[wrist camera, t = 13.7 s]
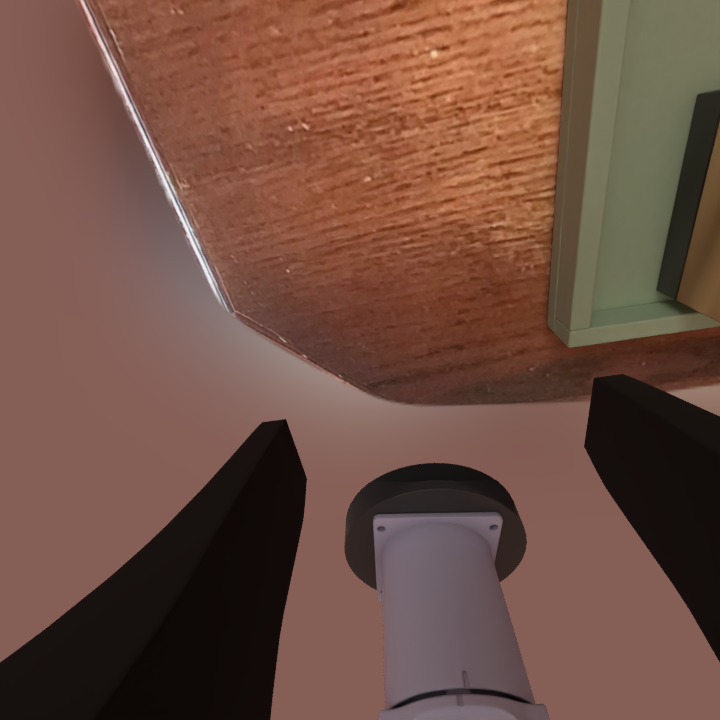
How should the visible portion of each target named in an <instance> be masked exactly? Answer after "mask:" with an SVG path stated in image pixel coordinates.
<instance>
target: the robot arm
mask: <svg viewBox="0 0 720 720" xmlns="http://www.w3.org/2000/svg"><path fill="white" fill-rule="evenodd" d="M584 447H585V449H586V450H587V453H588V455H589V457H590V459H591V461H592V463H593V465H594V467H595V468H596V471H597V473H598V474H599V476H600V478H601V480H602V482H603V483H604V486H605V487H606V489H607V490H608V492H609V493H610V495H611V496H612V498H613V499H614V500H615V502H616V503H617V505H618V506H619V508H620V509H621V511H622V512H623V514H624V515H625V516H626V518H627V519H628V521H629V522H630V524H631V525H632V526H633V528H634V529H635V531H636V532H637V534H638V535H639V536H640V538H641V539H642V541H643V542H644V543H645V545H646V547H647V548H648V549H649V550H650V552H651V554H652V555H653V557H654V558H655V559H656V561H657V562H658V564H659V565H660V567H661V568H662V569H663V571H664V572H665V574H666V575H667V576H668V578H669V579H670V581H671V582H672V583H673V585H674V586H675V588H676V590H677V591H678V593H679V594H680V596H681V597H682V599H683V600H684V602H685V603H686V605H687V607H688V608H689V609H690V611H691V613H692V615H693V616H694V618H695V620H696V622H697V624H698V625H699V627H700V629H701V630H702V632H703V634H704V636H705V637H706V639H707V641H708V643H709V644H710V646H711V648H712V650H713V651H714V653H715V655H716V656H717V658H718V660H719V662H720V416H717V415H715V414H713V413H711V412H708V411H706V410H704V409H701V408H699V407H697V406H695V405H693V404H691V403H689V402H686V401H684V400H682V399H679V398H677V397H675V396H673V395H671V394H669V393H666V392H664V391H662V390H660V389H657V388H655V387H653V386H651V385H648V384H646V383H644V382H641V381H639V380H637V379H634V378H632V377H629V376H626V375H624V374H621V375H613V376H606V377H598V378H594V382H593V389H592V396H591V403H590V410H589V417H588V424H587V431H586V438H585V445H584ZM306 481H307V478H306V475H305V472H304V469H303V466H302V464H301V461H300V458H299V455H298V452H297V449H296V447H295V444H294V441H293V438H292V435H291V432H290V430H289V427H288V424H287V421H286V419H284V420H277V421H269V422H262V423H261V424H260V425H259V426H258V427H257V428H256V429H255V431H254V432H253V433H252V434H251V435H250V436H249V437H248V438H247V439H246V441H245V442H244V443H243V444H242V445H241V446H240V447H239V449H238V450H237V451H236V452H235V453H234V454H233V455H232V457H231V458H230V459H229V460H228V461H227V462H226V463H225V464H224V465H223V467H222V468H221V469H220V470H219V471H218V472H217V473H216V474H215V475H214V477H213V478H212V479H211V480H210V481H209V482H208V483H207V484H206V486H205V487H204V488H203V489H202V490H201V491H200V492H199V493H198V494H197V495H196V496H195V497H194V498H193V499H192V500H191V501H190V502H189V503H188V504H187V505H186V506H185V507H184V508H183V509H182V510H181V511H180V512H179V513H178V514H177V516H175V517H174V518H173V519H172V520H171V522H170V523H169V524H168V525H167V526H166V527H165V528H163V530H162V531H160V532H159V533H158V534H157V535H156V536H155V537H154V538H153V539H152V540H151V541H150V542H149V543H148V544H147V545H145V546H144V547H143V548H142V549H141V550H140V551H139V552H138V553H137V554H136V555H134V556H133V557H132V558H131V559H130V560H129V561H128V562H126V563H125V564H124V565H123V566H122V567H121V568H120V569H119V570H117V571H116V572H115V573H114V574H113V575H112V576H110V577H109V578H108V579H107V580H106V581H105V582H103V583H102V584H101V585H100V586H98V587H97V588H96V589H95V590H93V591H92V592H91V593H90V594H88V595H87V596H86V597H85V598H83V599H82V600H81V601H80V602H79V603H77V604H76V605H75V606H74V607H72V608H71V609H70V610H69V611H67V612H66V613H65V614H64V615H62V616H61V617H60V618H59V619H57V620H56V621H55V622H54V623H52V624H51V625H50V626H49V627H47V628H46V629H45V630H43V631H42V632H41V633H40V634H38V635H37V636H35V637H34V638H33V639H32V640H30V641H29V642H27V643H26V644H25V645H23V646H22V647H21V648H20V649H18V650H17V651H16V652H14V653H13V654H11V655H10V656H9V657H7V658H6V659H5V660H3V661H2V662H0V720H270V716H271V706H272V697H273V687H274V679H275V670H276V662H277V654H278V646H279V638H280V631H281V626H282V619H283V614H284V609H285V605H286V600H287V595H288V590H289V585H290V581H291V576H292V571H293V566H294V562H295V557H296V552H297V548H298V543H299V538H300V533H301V528H302V523H303V517H304V507H305V495H306ZM502 523H503V519H502V516H501V515H500V513H497V512H460V513H400V514H377V515H375V516H374V518H373V530H374V548H375V566H376V583H377V599H378V601H380V602H382V611H383V651H384V686H385V687H384V688H385V710H380V711H379V720H550V718H549V715H548V712H547V709H546V706H545V705H544V704H535V701H534V697H533V694H532V690H531V687H530V683H529V680H528V677H527V673H526V670H525V667H524V663H523V660H522V657H521V653H520V650H519V646H518V643H517V639H516V636H515V633H514V629H513V626H512V623H511V619H510V616H509V612H508V609H507V606H506V602H505V599H504V596H503V592H502V589H501V586H500V582H499V579H498V575H497V572H496V568H495V565H494V563H495V558H496V553H497V548H498V543H499V538H500V533H501V528H502Z"/></svg>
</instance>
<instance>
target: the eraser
mask: <svg viewBox="0 0 720 720" xmlns="http://www.w3.org/2000/svg"><path fill="white" fill-rule="evenodd" d="M656 290H657V291H658V292H660V293H662V294H664V295H666V296H668V297H670V298H672V299H674V300H677V301H678V302H680V303H682V304H684V305H686V306H688V307H690V308H692V309H694V310H696V311H698V312H700V313H702V314H704V315H706V316H708V317H710V318H712V319H714V320H716V321H718V322H720V89H718V90H713V91H708V92H703V93H699V94H698V95H697V98H696V103H695V108H694V112H693V117H692V122H691V127H690V131H689V136H688V141H687V146H686V150H685V155H684V160H683V165H682V169H681V174H680V179H679V184H678V188H677V193H676V198H675V203H674V207H673V212H672V217H671V222H670V226H669V231H668V236H667V241H666V245H665V250H664V255H663V260H662V264H661V269H660V274H659V279H658V283H657V288H656Z"/></svg>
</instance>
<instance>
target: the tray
mask: <svg viewBox="0 0 720 720" xmlns="http://www.w3.org/2000/svg"><path fill="white" fill-rule="evenodd" d="M718 89H720V0H568V15H567V30H566V45H565V60H564V75H563V91H562V106H561V121H560V136H559V151H558V167H557V182H556V197H555V212H554V227H553V243H552V258H551V273H550V288H549V303H548V319H547V326H548V327H549V328H550V329H551V330H552V331H553V332H554V333H555V334H556V335H557V336H558V337H559V338H560V339H561V340H562V342H563V343H564V344H565V345H566V346H567V347H569V348H572V347H579V346H586V345H593V344H600V343H607V342H614V341H621V340H628V339H635V338H642V337H649V336H656V335H663V334H670V333H677V332H684V331H691V330H698V329H705V328H712V327H719V326H720V322H718V321H716V320H714V319H712V318H710V317H708V316H706V315H704V314H702V313H700V312H698V311H696V310H694V309H692V308H690V307H688V306H686V305H684V304H682V303H680V302H678V301H677V300H674V299H672V298H670V297H668V296H666V295H664V294H662V293H660V292H658V291H657V290H656V288H657V283H658V279H659V274H660V269H661V264H662V260H663V255H664V250H665V245H666V241H667V236H668V231H669V226H670V222H671V217H672V212H673V207H674V203H675V198H676V193H677V188H678V184H679V179H680V174H681V169H682V165H683V160H684V155H685V150H686V146H687V141H688V136H689V131H690V127H691V122H692V117H693V112H694V108H695V103H696V98H697V95H698V94H699V93H703V92H708V91H713V90H718Z"/></svg>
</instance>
